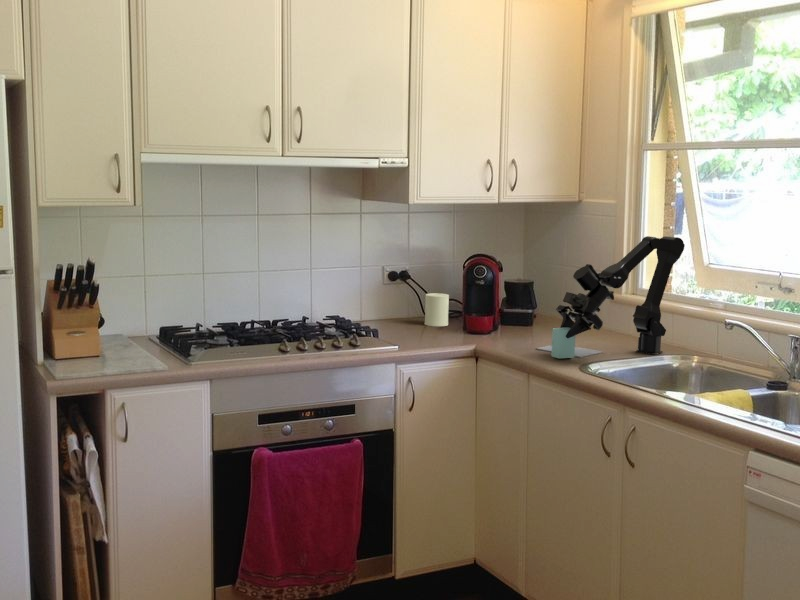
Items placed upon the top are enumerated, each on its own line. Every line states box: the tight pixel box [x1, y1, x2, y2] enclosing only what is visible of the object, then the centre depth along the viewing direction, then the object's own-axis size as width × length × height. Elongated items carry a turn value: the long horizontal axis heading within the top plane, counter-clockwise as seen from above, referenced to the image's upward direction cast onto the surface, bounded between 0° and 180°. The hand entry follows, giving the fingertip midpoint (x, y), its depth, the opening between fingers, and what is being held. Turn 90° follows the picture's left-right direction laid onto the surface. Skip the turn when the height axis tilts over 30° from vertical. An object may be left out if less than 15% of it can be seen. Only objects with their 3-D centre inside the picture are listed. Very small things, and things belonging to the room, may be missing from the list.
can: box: [424, 292, 450, 327], centre depth 348 cm, size 9×9×12 cm
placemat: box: [535, 344, 604, 359], centre depth 301 cm, size 18×13×1 cm
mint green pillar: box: [551, 327, 576, 359], centre depth 288 cm, size 4×6×9 cm, turn 114°
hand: (562, 336), depth 288 cm, fingers closed on mint green pillar, 4 cm apart
